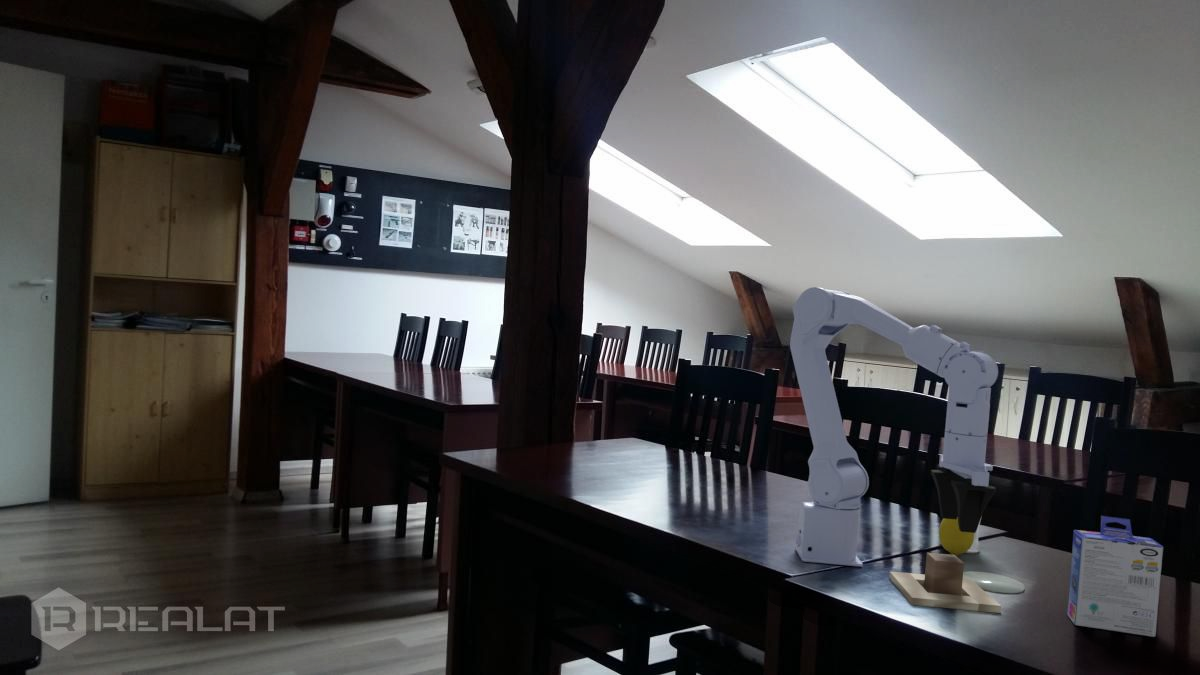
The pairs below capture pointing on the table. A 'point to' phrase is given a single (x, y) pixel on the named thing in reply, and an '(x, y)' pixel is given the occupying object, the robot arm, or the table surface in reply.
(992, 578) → the disc
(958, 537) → the lemon
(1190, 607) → the table surface
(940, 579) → the walnut block
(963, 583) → the pocket block
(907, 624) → the table surface
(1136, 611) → the ink cartridge box
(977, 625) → the table surface
